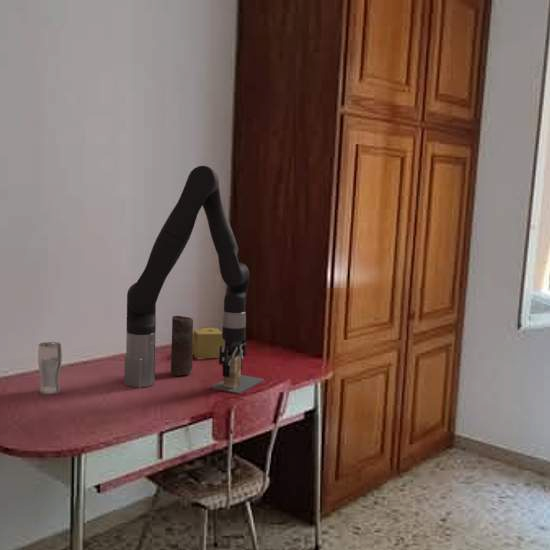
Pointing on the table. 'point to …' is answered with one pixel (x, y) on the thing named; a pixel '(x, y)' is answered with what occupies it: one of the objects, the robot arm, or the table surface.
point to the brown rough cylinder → (181, 345)
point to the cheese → (207, 343)
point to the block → (234, 373)
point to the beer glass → (49, 366)
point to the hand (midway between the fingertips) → (232, 373)
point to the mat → (245, 384)
